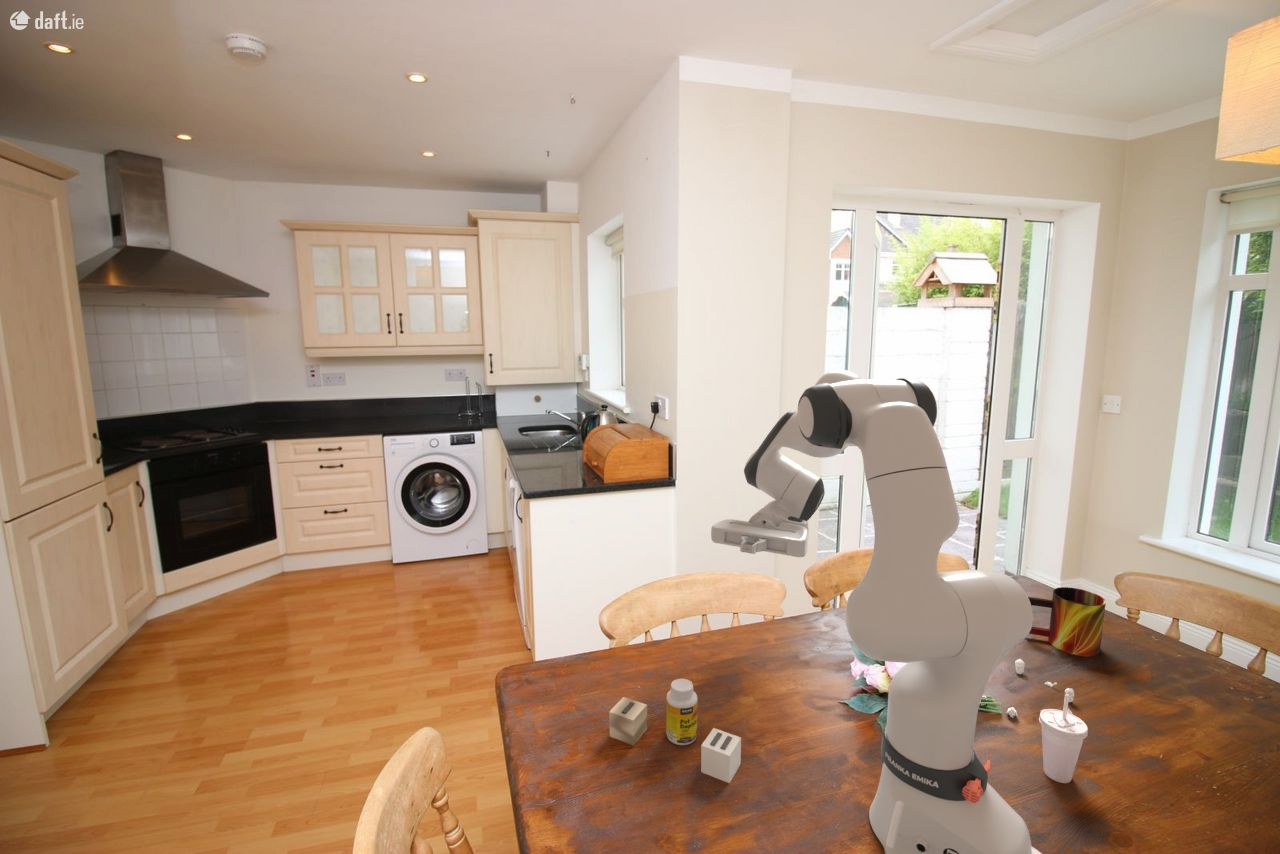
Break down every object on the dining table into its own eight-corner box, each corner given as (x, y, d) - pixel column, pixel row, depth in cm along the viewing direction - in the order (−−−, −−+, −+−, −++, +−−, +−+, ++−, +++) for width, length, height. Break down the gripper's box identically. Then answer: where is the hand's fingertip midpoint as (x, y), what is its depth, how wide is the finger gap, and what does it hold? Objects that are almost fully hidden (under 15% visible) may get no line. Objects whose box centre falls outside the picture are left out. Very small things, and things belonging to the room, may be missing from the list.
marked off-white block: (740, 764, 99) (741, 736, 98) (729, 783, 95) (729, 754, 94) (713, 753, 102) (713, 726, 101) (701, 772, 97) (701, 744, 96)
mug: (1020, 635, 140) (1025, 588, 138) (1077, 634, 140) (1082, 586, 138) (1050, 657, 130) (1055, 607, 128) (1111, 656, 130) (1117, 605, 129)
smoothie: (1085, 774, 96) (1094, 696, 94) (1077, 796, 91) (1087, 714, 89) (1039, 754, 100) (1047, 679, 98) (1029, 774, 96) (1037, 696, 94)
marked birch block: (647, 729, 108) (646, 703, 107) (633, 746, 104) (633, 719, 103) (623, 721, 110) (623, 695, 110) (609, 736, 106) (609, 710, 105)
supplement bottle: (679, 751, 102) (679, 697, 100) (660, 734, 107) (659, 682, 105) (703, 739, 105) (704, 686, 104) (684, 722, 110) (684, 672, 108)
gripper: (724, 509, 133) (699, 526, 121) (815, 522, 123) (798, 542, 111) (724, 535, 134) (699, 555, 122) (814, 550, 124) (797, 573, 112)
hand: (747, 549), depth 117 cm, fingers closed
